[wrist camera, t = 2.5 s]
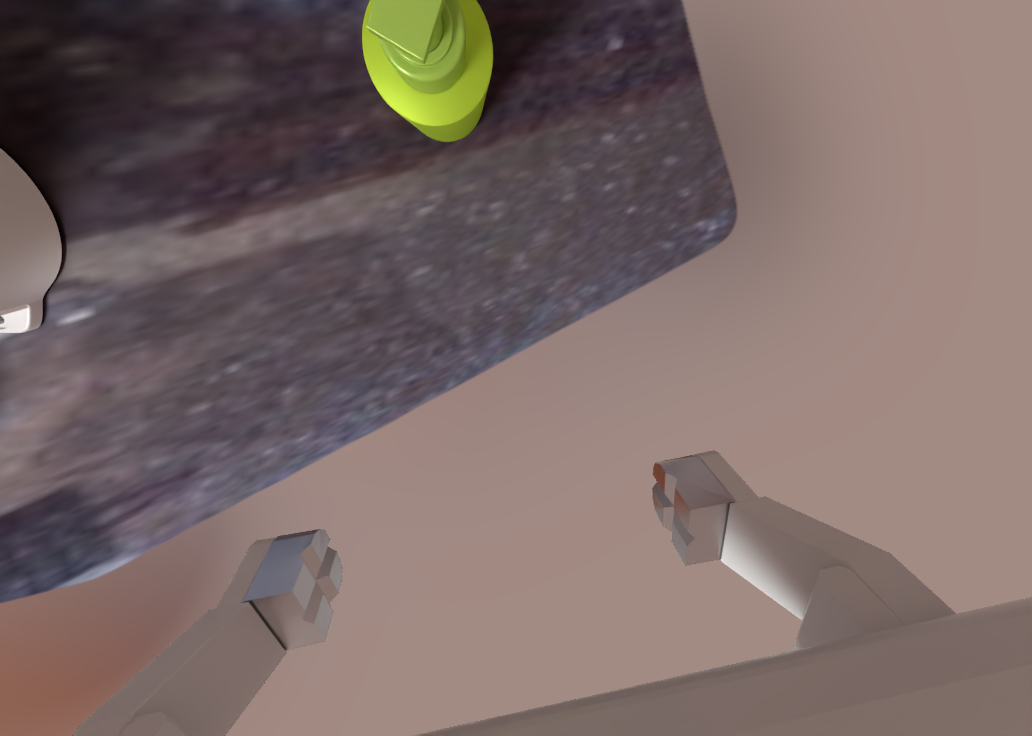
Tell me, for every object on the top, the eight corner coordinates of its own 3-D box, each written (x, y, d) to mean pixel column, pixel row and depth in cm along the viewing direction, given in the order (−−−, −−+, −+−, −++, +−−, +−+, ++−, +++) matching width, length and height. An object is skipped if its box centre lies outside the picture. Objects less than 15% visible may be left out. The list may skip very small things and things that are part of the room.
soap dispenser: (502, 60, 29) (555, -104, 12) (465, 156, 32) (461, 141, 14) (425, 12, 28) (349, -267, 10) (392, 117, 30) (284, 43, 12)
